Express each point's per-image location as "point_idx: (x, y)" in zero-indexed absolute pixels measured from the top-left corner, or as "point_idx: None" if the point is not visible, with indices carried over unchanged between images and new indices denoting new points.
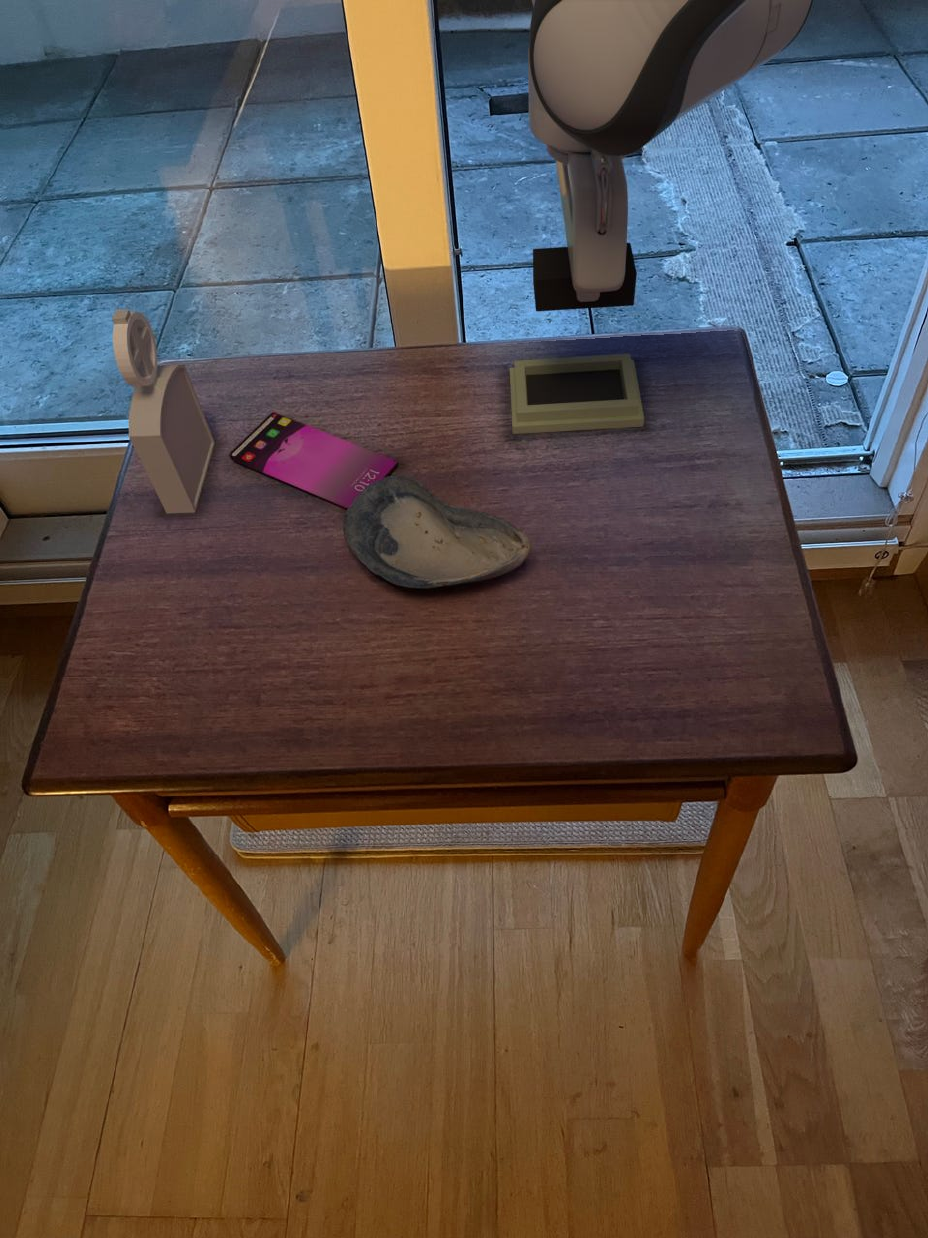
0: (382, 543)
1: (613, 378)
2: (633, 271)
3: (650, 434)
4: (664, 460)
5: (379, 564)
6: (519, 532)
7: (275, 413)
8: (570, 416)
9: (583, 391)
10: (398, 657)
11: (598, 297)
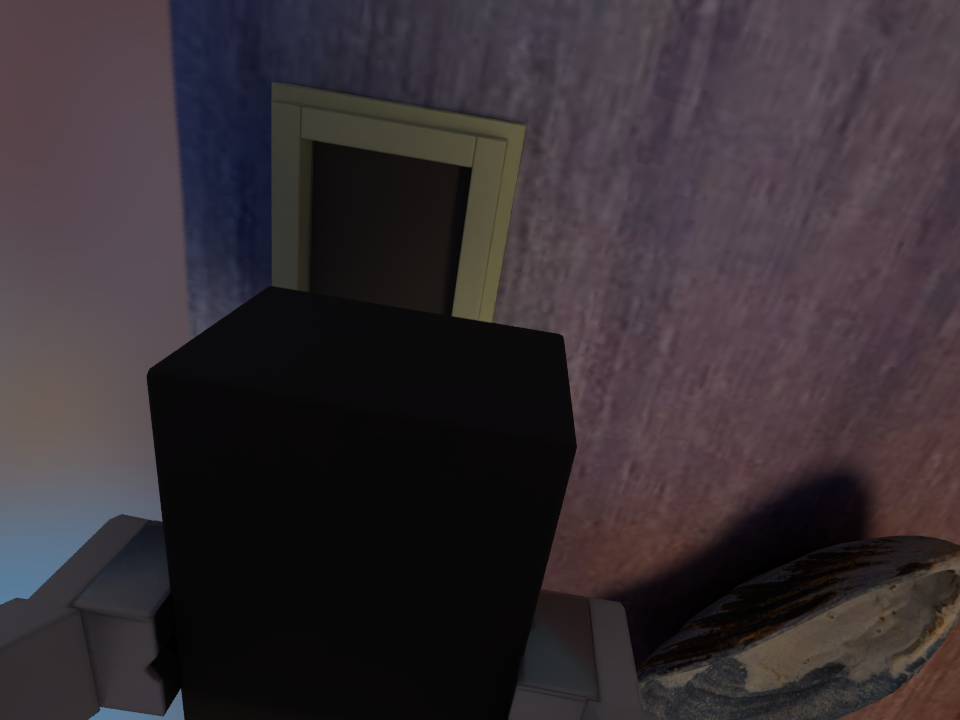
0: (721, 682)
1: (351, 168)
2: (554, 463)
3: (560, 113)
4: (668, 104)
5: (790, 710)
6: (930, 572)
7: None
8: (479, 315)
9: (390, 259)
10: (934, 673)
11: (621, 607)
